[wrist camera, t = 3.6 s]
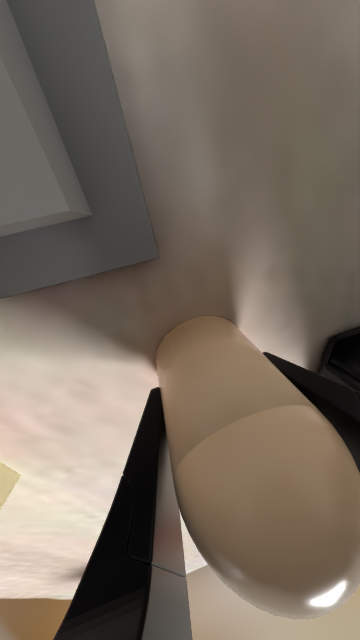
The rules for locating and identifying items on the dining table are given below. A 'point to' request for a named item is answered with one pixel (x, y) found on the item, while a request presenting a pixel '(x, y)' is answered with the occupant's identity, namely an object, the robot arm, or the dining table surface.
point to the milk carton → (7, 482)
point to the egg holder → (63, 151)
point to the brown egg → (258, 473)
